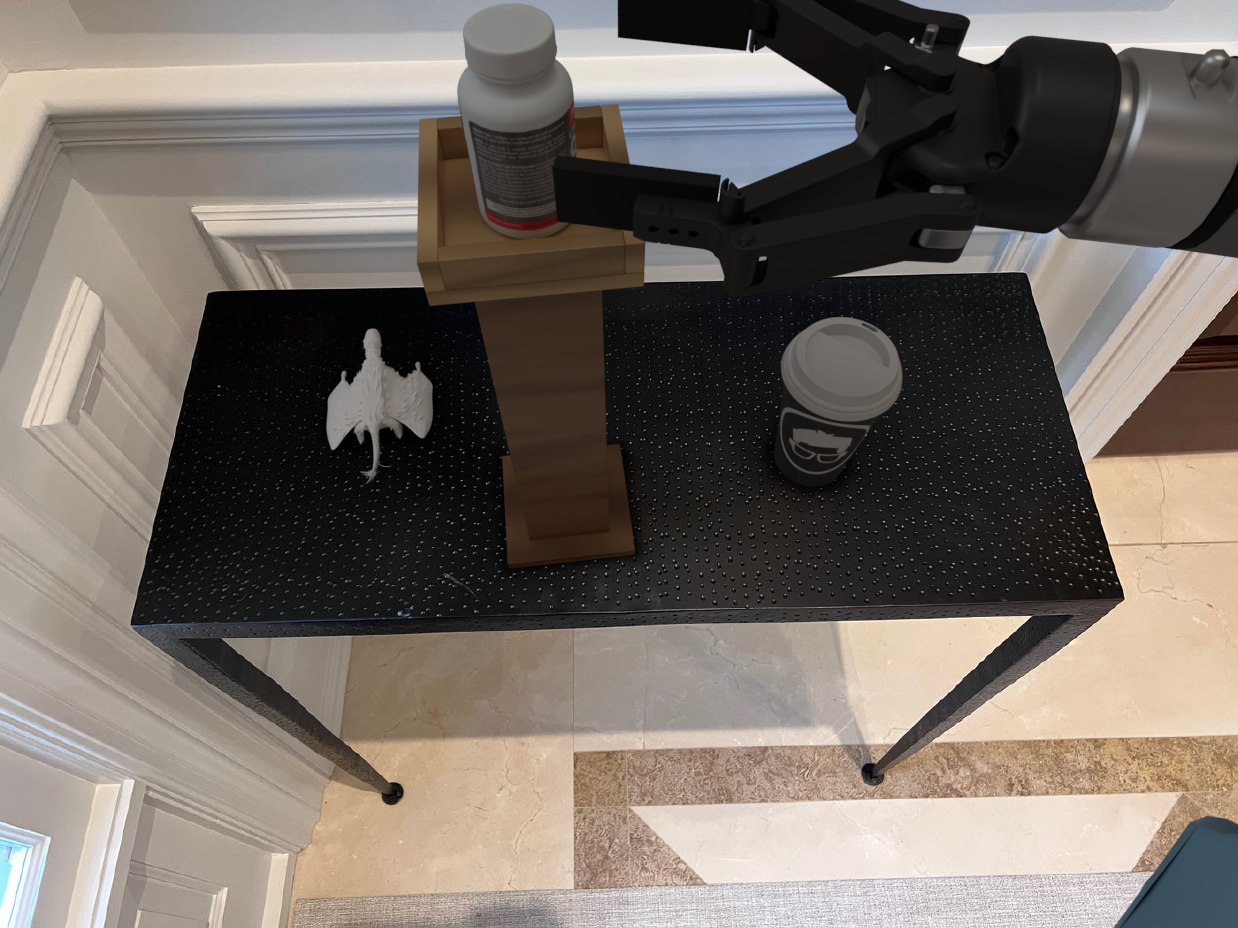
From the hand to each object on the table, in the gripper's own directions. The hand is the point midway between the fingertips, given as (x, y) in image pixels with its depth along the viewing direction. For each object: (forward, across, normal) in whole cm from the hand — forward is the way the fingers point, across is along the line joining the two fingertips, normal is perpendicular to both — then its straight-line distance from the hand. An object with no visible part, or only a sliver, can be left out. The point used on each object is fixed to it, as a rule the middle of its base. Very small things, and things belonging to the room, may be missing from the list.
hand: (589, 89), depth 35 cm
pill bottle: (+4, 0, +8) cm, 9 cm away
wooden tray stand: (+4, 0, +42) cm, 42 cm away
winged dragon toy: (+23, -6, +42) cm, 48 cm away
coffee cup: (-18, -10, +42) cm, 46 cm away
